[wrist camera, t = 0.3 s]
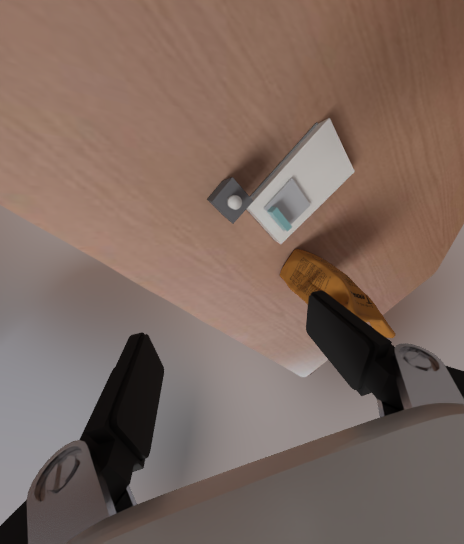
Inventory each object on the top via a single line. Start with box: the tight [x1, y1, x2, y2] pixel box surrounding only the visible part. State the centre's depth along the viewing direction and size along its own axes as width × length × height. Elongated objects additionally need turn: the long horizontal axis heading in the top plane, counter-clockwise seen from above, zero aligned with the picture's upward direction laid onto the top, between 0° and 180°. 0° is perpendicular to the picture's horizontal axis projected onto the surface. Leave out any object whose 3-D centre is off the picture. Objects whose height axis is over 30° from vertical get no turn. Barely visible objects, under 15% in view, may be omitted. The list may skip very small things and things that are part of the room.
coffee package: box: [280, 249, 395, 338], centre depth 35 cm, size 10×12×22 cm
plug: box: [207, 177, 253, 223], centre depth 28 cm, size 4×4×12 cm
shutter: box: [263, 178, 310, 231], centre depth 32 cm, size 7×7×3 cm
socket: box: [247, 118, 355, 244], centre depth 34 cm, size 20×12×4 cm, turn 136°
